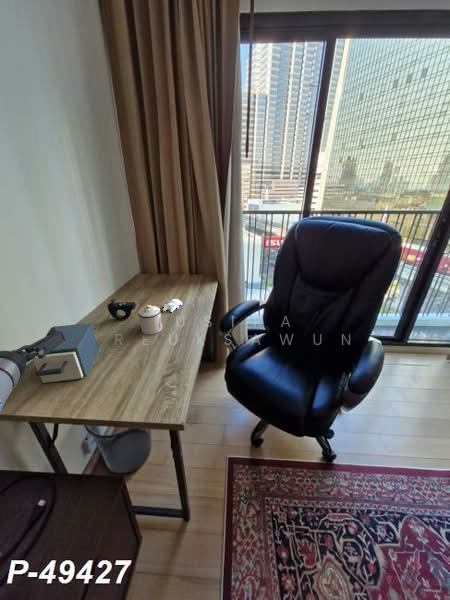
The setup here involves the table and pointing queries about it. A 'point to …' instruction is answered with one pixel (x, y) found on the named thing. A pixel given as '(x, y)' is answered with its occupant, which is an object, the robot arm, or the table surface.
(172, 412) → the table surface
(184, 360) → the table surface
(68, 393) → the table surface
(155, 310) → the teacup with lid
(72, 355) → the drawer
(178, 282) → the table surface
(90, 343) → the blue cabinet box
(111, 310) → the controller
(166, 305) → the astronaut figurine
